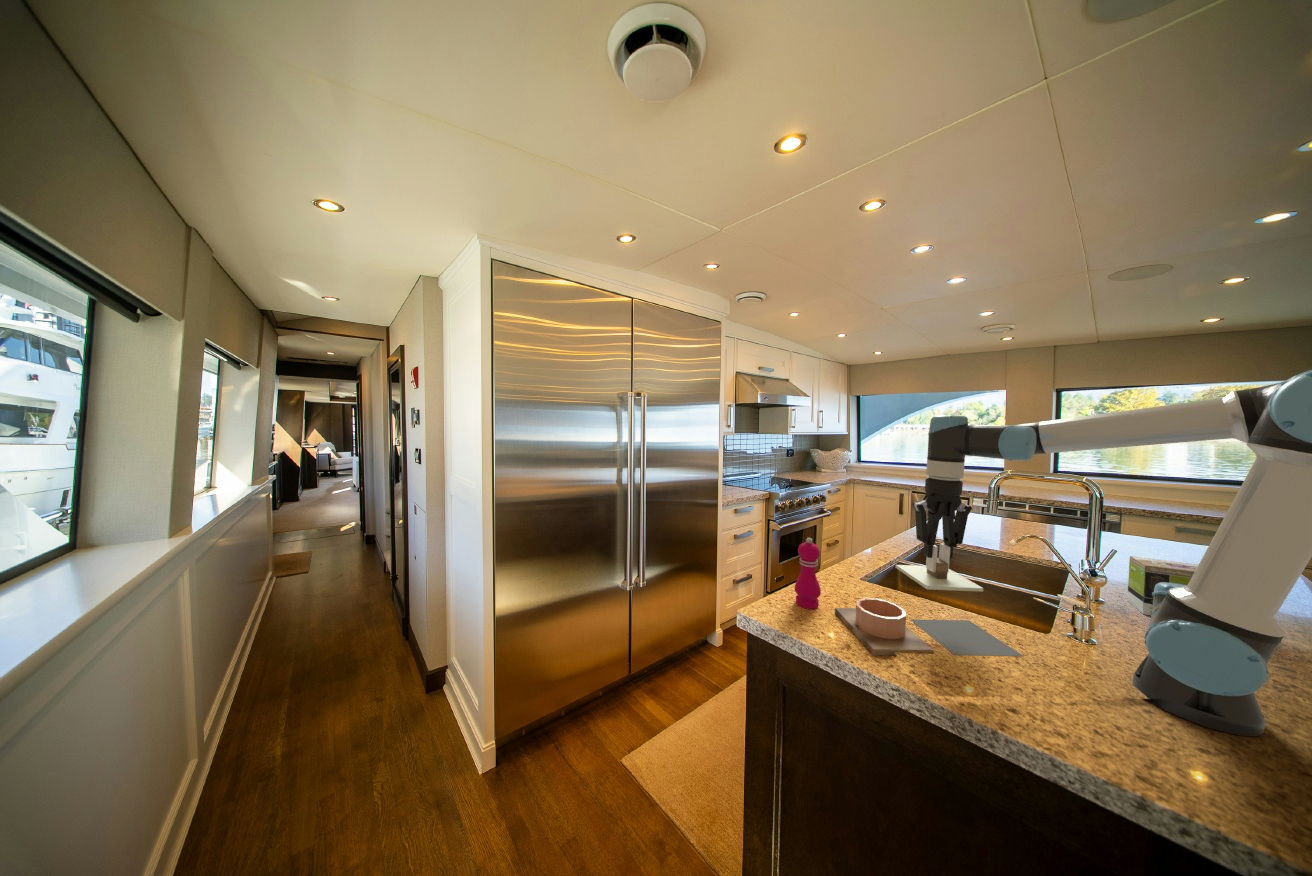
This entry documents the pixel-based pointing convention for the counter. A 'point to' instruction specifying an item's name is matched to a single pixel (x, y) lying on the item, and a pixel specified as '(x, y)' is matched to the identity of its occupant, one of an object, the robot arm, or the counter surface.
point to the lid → (938, 577)
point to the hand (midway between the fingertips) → (936, 569)
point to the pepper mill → (808, 576)
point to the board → (882, 644)
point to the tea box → (1154, 579)
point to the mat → (965, 638)
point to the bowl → (880, 618)
